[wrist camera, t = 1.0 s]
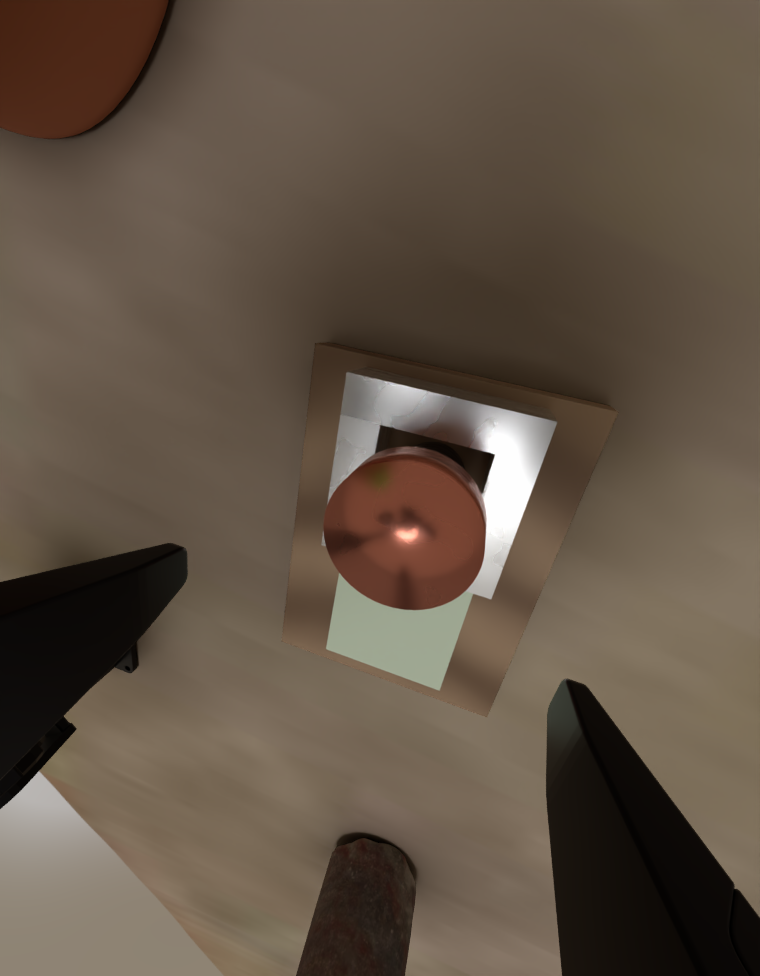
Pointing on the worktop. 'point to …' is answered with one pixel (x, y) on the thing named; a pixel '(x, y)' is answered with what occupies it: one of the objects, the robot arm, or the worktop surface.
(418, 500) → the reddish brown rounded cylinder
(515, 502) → the block
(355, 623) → the rubber pad
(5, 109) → the potted cactus
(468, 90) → the worktop surface
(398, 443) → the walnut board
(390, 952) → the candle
